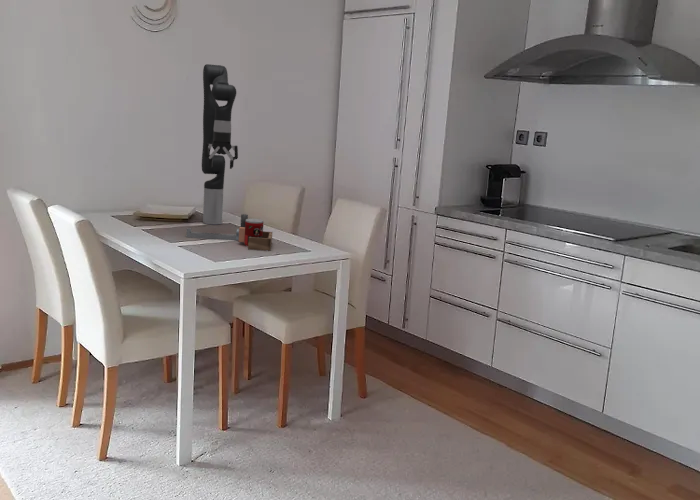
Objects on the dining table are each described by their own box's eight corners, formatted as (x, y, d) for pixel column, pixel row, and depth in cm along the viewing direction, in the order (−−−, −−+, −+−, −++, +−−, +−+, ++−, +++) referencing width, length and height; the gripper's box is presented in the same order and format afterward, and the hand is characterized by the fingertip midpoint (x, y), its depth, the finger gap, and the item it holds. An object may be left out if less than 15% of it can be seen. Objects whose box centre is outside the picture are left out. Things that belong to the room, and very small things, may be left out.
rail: (187, 235, 293) (187, 227, 292) (256, 240, 295) (256, 232, 295) (186, 237, 290) (186, 229, 289) (255, 241, 293) (256, 233, 292)
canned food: (247, 247, 280) (248, 221, 278) (242, 243, 287) (243, 218, 285) (264, 247, 283) (266, 221, 281) (259, 243, 290) (260, 218, 288)
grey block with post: (237, 237, 296) (238, 213, 293) (250, 238, 296) (251, 214, 294) (234, 243, 283) (235, 218, 281) (248, 244, 284) (249, 219, 281)
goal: (250, 241, 291) (251, 230, 290) (271, 243, 292) (272, 231, 291) (248, 249, 277) (248, 237, 276) (270, 250, 277) (270, 239, 276)
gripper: (239, 131, 296) (237, 168, 299) (207, 129, 294) (205, 166, 298) (238, 132, 288) (236, 170, 292) (204, 130, 287) (203, 167, 290)
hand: (221, 168), depth 295 cm, fingers open, 8 cm apart
